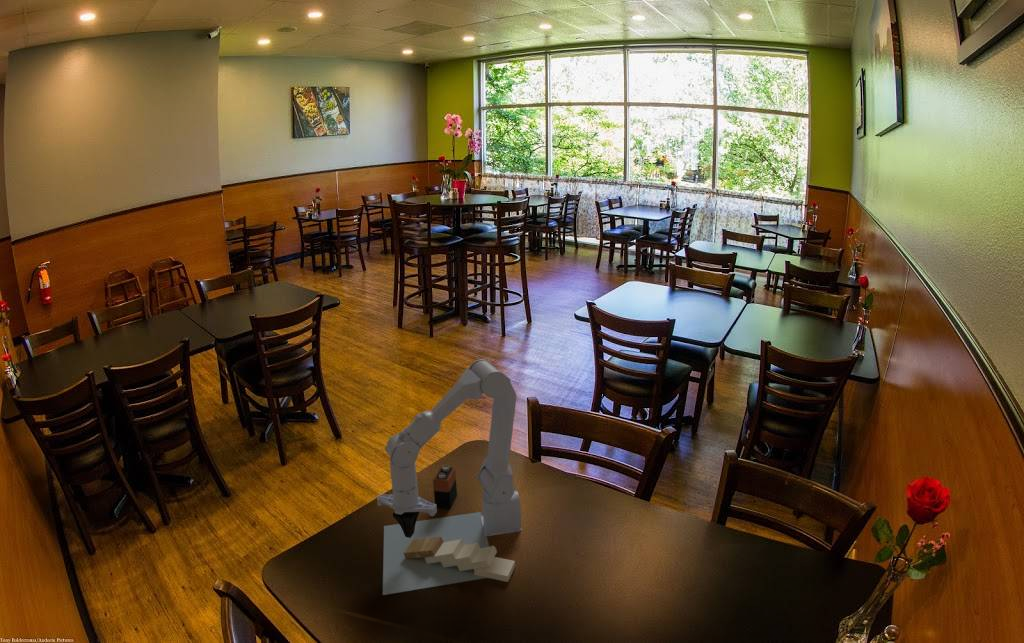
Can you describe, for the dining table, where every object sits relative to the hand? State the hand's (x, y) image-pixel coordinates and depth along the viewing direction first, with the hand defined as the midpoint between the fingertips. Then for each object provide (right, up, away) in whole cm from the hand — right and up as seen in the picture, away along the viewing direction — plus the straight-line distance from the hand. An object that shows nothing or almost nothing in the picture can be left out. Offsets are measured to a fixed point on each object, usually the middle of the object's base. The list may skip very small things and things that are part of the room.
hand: (409, 534), depth 138 cm
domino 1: (+5, -4, 0) cm, 7 cm away
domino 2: (+9, -5, -2) cm, 10 cm away
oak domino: (0, -4, +2) cm, 4 cm away
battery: (+6, +1, +21) cm, 22 cm away
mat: (+6, -5, +2) cm, 8 cm away
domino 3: (+13, -5, -3) cm, 14 cm away
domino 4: (+16, -5, -4) cm, 18 cm away
